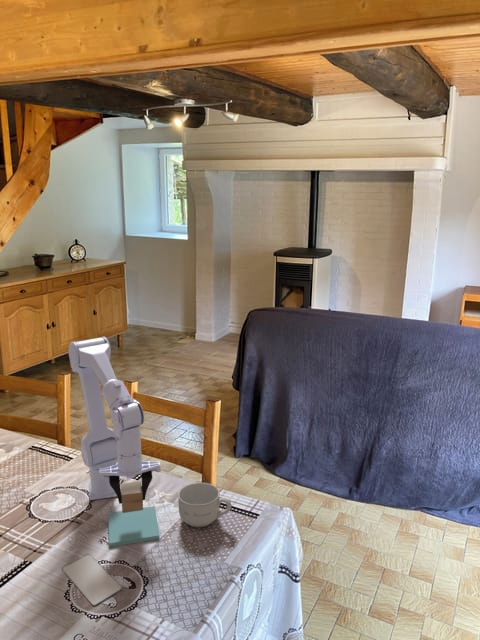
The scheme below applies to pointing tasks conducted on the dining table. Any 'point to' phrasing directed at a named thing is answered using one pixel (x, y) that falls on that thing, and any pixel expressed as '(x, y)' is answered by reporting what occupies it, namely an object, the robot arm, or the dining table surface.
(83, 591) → the smartphone
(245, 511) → the dining table surface
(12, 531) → the dining table surface
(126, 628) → the dining table surface
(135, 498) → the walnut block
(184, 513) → the teacup
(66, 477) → the dining table surface
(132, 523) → the teal square plate
